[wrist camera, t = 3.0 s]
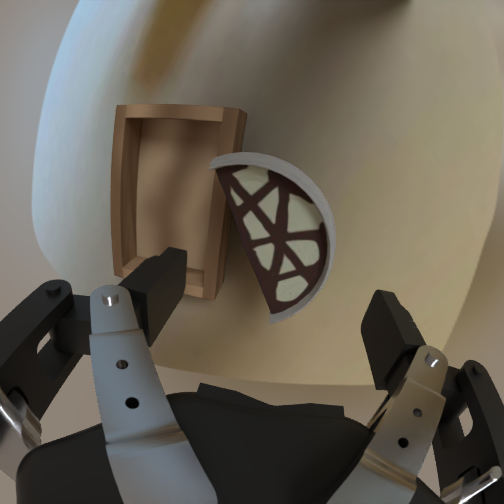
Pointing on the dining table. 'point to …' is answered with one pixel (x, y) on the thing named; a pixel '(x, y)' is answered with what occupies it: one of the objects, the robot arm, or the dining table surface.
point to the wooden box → (173, 188)
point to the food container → (279, 227)
